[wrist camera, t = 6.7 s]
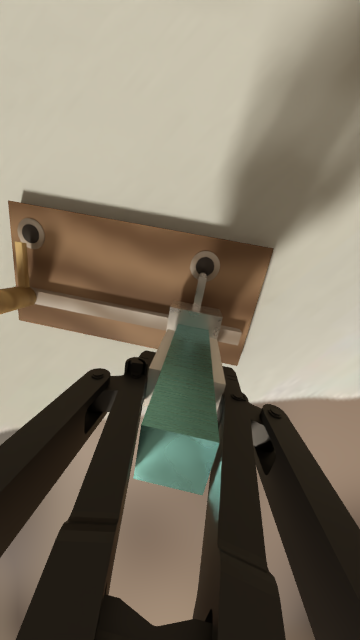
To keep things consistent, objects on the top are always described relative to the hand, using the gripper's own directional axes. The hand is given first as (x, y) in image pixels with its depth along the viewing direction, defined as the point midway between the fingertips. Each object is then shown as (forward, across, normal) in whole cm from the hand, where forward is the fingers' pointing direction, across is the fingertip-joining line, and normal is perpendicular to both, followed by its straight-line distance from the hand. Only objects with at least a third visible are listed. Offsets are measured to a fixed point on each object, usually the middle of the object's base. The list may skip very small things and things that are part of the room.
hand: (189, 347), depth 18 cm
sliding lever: (+6, 0, +2) cm, 6 cm away
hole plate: (+8, -8, +3) cm, 11 cm away
